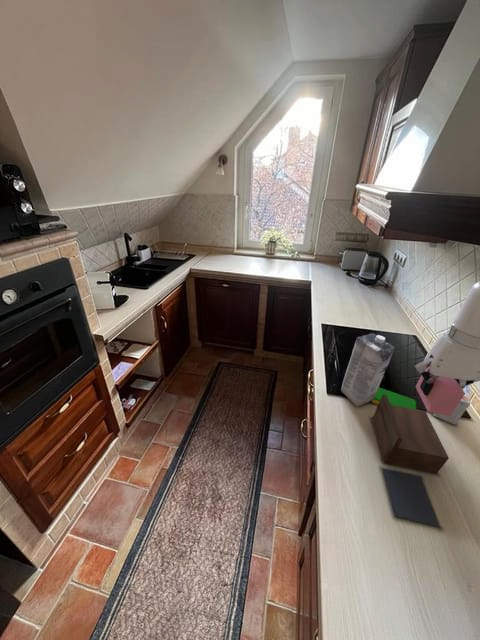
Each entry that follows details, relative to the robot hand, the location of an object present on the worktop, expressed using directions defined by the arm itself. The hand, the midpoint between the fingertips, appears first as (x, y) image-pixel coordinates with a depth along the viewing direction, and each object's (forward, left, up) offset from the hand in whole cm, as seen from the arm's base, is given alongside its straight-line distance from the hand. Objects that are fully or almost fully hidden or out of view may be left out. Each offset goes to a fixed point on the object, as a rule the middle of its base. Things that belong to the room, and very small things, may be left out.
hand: (436, 393), depth 66 cm
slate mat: (+3, +14, -25) cm, 28 cm away
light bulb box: (-20, -20, -25) cm, 38 cm away
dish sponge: (-2, -19, -25) cm, 31 cm away
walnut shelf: (0, -2, -25) cm, 25 cm away
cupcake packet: (0, 0, -3) cm, 3 cm away
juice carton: (+11, -20, -25) cm, 33 cm away
